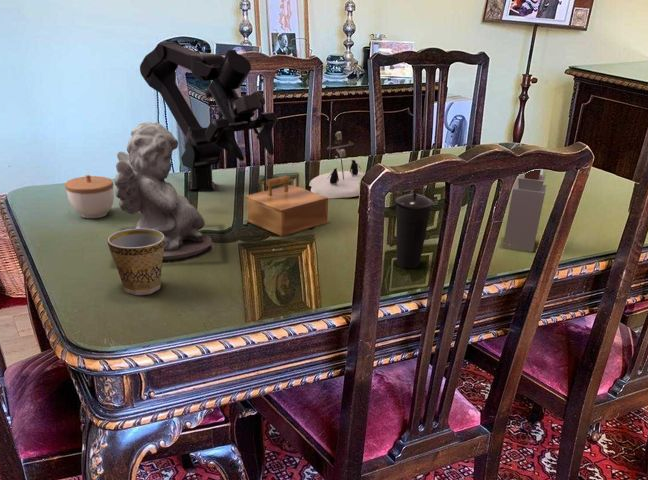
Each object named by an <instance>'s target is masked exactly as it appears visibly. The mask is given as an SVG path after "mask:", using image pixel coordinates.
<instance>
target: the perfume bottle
mask: <svg viewBox="0 0 648 480" xmlns="http://www.w3.org/2000/svg"><path fill="white" fill-rule="evenodd" d="M541 172H542V169H541V170H534V171H530V172H528V173H526V174H524V175H521V176H519V175H518V178H517V180H515V182H514V185H513V187H512V190H511V191H512V192H511V196H510V203H509V208H508V213H507V214H508V215H507V219H506V223H505V224H506V225H505V231H504V236H503V241H502V248H503V249H507V250H508V249H509V250H514V251H521V252H528V253H533V252H534V248H535V244H536V239H537V236H538V235H537V234H538V230H539V224H540V220H541V216H542V215H541V214H542V211H543V205H544V200H545V196H546V192H547V191H546V190H547V186H548V185H547V184H544V182H545V178H546V174H541ZM503 243H505V244H503ZM509 244H510V245H509Z"/></svg>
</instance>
